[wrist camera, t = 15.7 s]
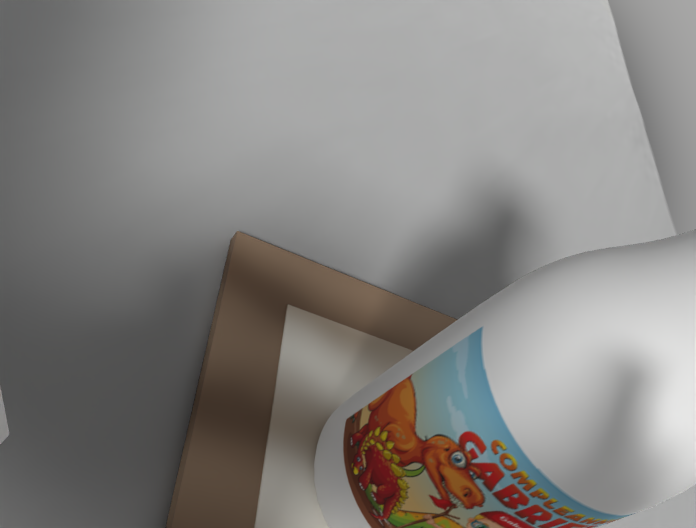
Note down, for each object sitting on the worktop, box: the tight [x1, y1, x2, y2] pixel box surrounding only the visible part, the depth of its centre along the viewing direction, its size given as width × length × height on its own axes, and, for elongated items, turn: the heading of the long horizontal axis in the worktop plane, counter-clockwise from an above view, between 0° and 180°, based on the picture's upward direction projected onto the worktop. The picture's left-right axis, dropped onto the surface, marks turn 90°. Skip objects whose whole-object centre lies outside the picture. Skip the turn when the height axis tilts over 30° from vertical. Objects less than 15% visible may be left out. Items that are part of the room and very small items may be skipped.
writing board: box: [166, 231, 457, 528], centre depth 28 cm, size 20×18×1 cm
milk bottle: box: [314, 229, 696, 528], centre depth 21 cm, size 8×8×20 cm
